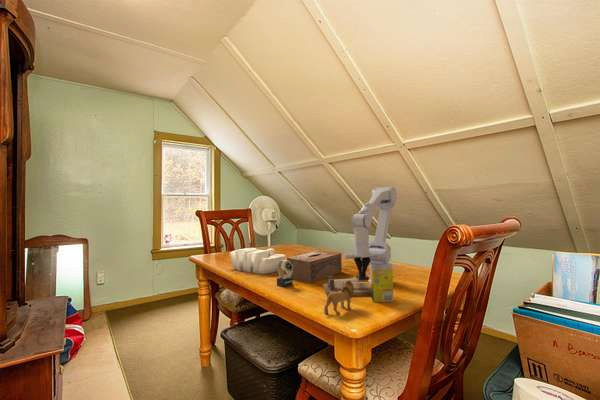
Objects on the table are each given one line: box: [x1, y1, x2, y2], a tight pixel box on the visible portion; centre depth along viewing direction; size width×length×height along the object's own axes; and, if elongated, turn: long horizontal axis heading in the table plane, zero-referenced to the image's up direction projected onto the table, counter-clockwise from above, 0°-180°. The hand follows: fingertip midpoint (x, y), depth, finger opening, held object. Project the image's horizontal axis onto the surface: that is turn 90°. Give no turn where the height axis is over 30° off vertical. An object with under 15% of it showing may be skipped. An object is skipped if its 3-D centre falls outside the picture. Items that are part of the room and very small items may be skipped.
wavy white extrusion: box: [229, 247, 287, 275], centre depth 156 cm, size 35×16×11 cm, turn 55°
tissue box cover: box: [286, 249, 343, 284], centre depth 141 cm, size 26×14×10 cm, turn 138°
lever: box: [327, 273, 370, 284], centre depth 114 cm, size 16×5×6 cm, turn 92°
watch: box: [276, 259, 294, 288], centre depth 124 cm, size 6×8×11 cm
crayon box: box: [371, 270, 395, 303], centre depth 103 cm, size 7×3×12 cm, turn 91°
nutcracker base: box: [322, 275, 372, 298], centre depth 114 cm, size 19×12×6 cm, turn 92°
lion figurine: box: [323, 280, 354, 316], centre depth 95 cm, size 15×5×9 cm, turn 138°
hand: (362, 276), depth 115 cm, fingers closed, pressing on lever
